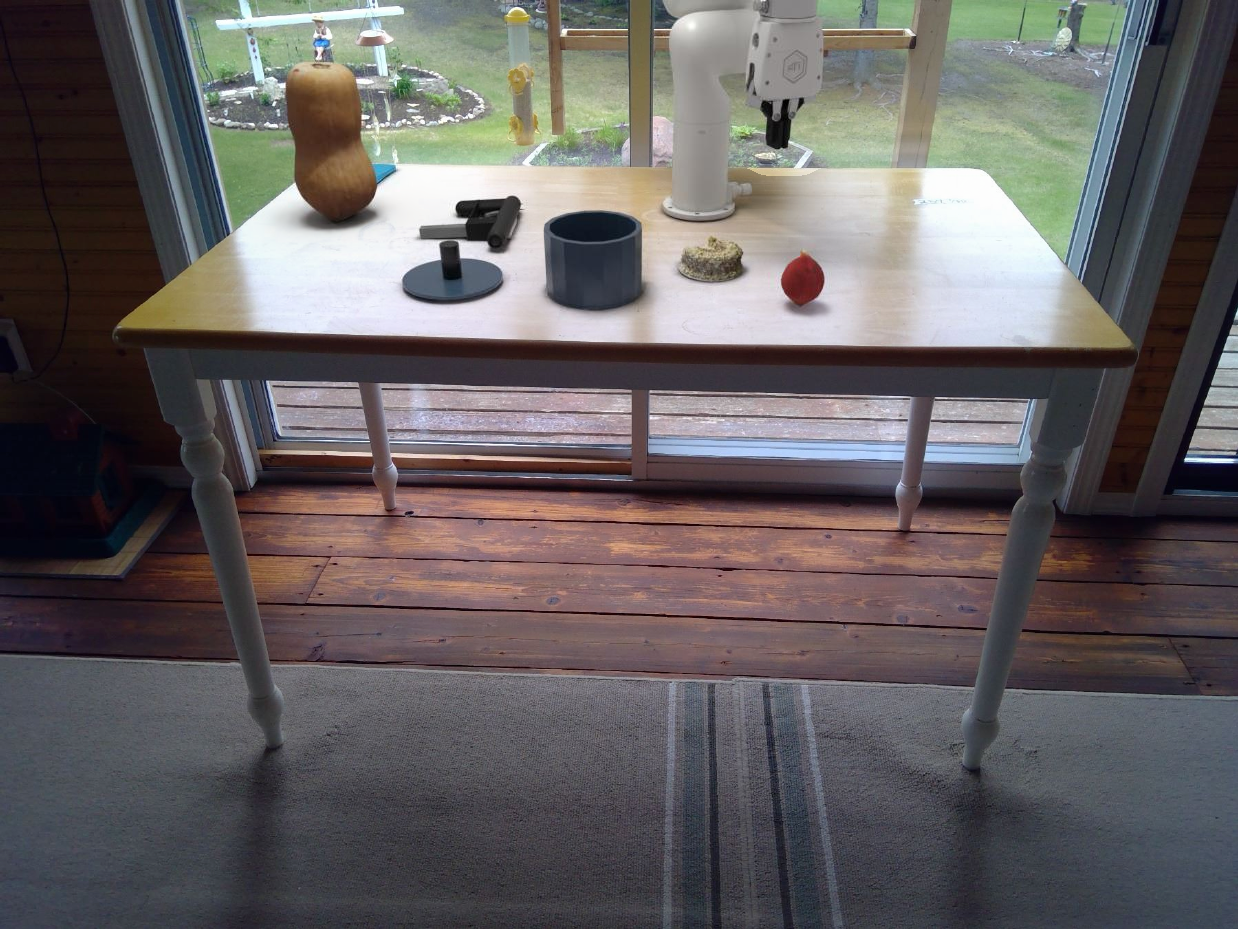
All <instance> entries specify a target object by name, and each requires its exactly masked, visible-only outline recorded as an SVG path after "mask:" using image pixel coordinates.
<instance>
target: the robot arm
mask: <svg viewBox="0 0 1238 929" xmlns="http://www.w3.org/2000/svg"><path fill="white" fill-rule="evenodd" d="M661 1H662V3H663V5H664V8H665V10H666V11H667V13H668V14H669V15H670V16H671V17H674V18H676V19H677V20H676V21H675V22H674V23H673V25H672V26H671V29H670V30H669V31H670V32H669V35H668V49H669V50H668V51H669V57H670V65H671V72H672V84H673V115H672V116H673V120H672V122H673V123H672V127H673V129H672V131H673V132H672V164H671V165H672V167H671V168H672V169H671V195H670V196H668V197H667V198H665V199H664V200H663V201H662V211H663V212H664V213H665V214H666V215H667V216H670V217H673V218H676V219H679V220H683V221H694V222H705V221H707V222H708V221H716V220H720V219H724V218H727V217H729V216H731V215H732V214H734V212H735V210H736V209H735V208H736V204H735V201H734V200H733V199H735V198H736V197H737V196H747V195H751V194H752V191H753V188H752V185H751V183H750V182H746V183H741V184H740V183H739V184H738V182H737V181H731V182H729V181H728V176H729V175H728V174H729V173H728V172H729V158H730V157H729V156H730V137H731V120H732V105H731V99H730V97H729V95H728V93H727V92H726V90H725V89H724V87H723V85H722V84H721V82H720V79H719V78H720V77H723V76H724V77H725V76H729V75H739V74H740V75H741V74H745V92H746V93H747V94H746V97H745V102H744V103H745V106H747V107H749V108H752V109H756V110H760V112H761V113H762V114H763V116H764V118H766V125H765V144H766V146H768V147H769V148H771V149H773V150H777V151H778V150H781V149H784V150H785V149H788V148H789V141H790V138H791V128H792V120H794V119H795V118H796V115H797V112H798V111H799V110H800V109H801V107H802V106H803V105H805V104H808V103H810V102H812V101H815V100H816V97H817V94H818V93H819V92H820V91H821V88H822V83H823V72H824V70H823V69H824V32H823V23H822V22H823V20H822V18H821V17H819V16H817V11H818V2H819V0H661Z"/></svg>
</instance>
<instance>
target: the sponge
mask: <svg viewBox="0 0 1238 929" xmlns="http://www.w3.org/2000/svg"><path fill="white" fill-rule="evenodd" d="M372 165H373V168H374V171H375V175H376V181H377V184H378V183H380V182H381V181H382V180H383V179H385V178H386V177H387V176H388V175H391V174H392V173H394V172H395V171H396V170H397V165H396V164H391V163H372Z"/></svg>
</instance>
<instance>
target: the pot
mask: <svg viewBox="0 0 1238 929" xmlns="http://www.w3.org/2000/svg"><path fill="white" fill-rule="evenodd" d="M543 225H544V226H543V245H544V246H543V247H544V263H545V264H544V266H545V281H546V282H545V283H546V292H547V295H548V297H549V298H550V299H551V300H552V301H553V302H555V303H556V304H559V305H561V306H565V307H568V308H573V309H578V310H592V311H593V310H594V311H595V310H607V309H614V308H618V307H621V306H624V305H628V304H630V303H632V302H633V301H635V300H636V299H638V298H639V297H640V295H641V293H642V288H643V227H642V226H643V225H642V222H641V221H640V220H638V219H637V218H636V217H634V216H632V215H630V214H626V213H623V212H619V211H611V210H604V209H600V210H599V209H598V210H597V209H596V210H590V209H589V210H579V211H573V212H566V213H563V214H560V215H557V216H554V217H551V218H550V219H549V220H548V221H546V222H545V223H544V224H543Z"/></svg>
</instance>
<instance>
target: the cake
mask: <svg viewBox="0 0 1238 929" xmlns="http://www.w3.org/2000/svg"><path fill="white" fill-rule="evenodd" d="M707 241H708V242H707V243H705V244H703V246H697V245H691V246H685V247H684V248H683V249H682V254H681V258H680V261H679V262H678V264H677V269H678V271H679V272H680V273H681V274H682V275H684V276H685V277H687V278H689V279H693V280H696V281H699V282H700V281H701V282H709V283H715V282H726V281H730V280H733V279H737V278H738V277H739V276H740V275H741V274H742V273H743V272H744V265H743V263H742V258H743V256H744V251H743V249H742V248H741V247H740V246H739V244H737V242H735V241H732V240H731V241H730V240H728V239H723V238H722V237H721V238H720V237H716V236H712V235H710V236H709V237H708V240H707Z"/></svg>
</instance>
